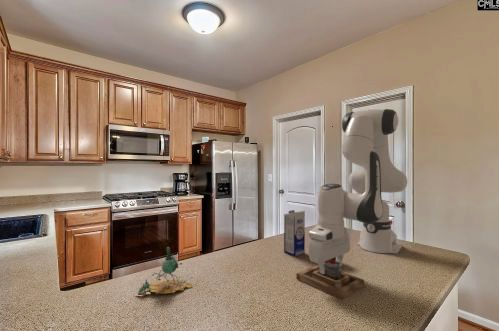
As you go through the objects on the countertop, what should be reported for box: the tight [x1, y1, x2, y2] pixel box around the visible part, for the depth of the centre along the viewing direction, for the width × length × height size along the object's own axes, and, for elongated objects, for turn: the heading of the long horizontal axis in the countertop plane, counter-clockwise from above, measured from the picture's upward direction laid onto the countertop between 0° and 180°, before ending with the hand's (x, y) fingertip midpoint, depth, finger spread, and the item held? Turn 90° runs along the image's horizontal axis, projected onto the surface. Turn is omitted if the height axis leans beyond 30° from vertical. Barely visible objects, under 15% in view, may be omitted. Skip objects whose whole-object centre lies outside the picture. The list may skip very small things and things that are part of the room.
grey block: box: [320, 262, 343, 281], centre depth 87 cm, size 4×6×6 cm, turn 39°
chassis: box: [295, 264, 365, 300], centre depth 86 cm, size 14×18×3 cm
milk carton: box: [283, 209, 306, 258], centre depth 115 cm, size 7×7×20 cm
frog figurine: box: [136, 246, 194, 296], centre depth 81 cm, size 10×18×15 cm, turn 105°
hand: (330, 269), depth 87 cm, fingers open, 8 cm apart
